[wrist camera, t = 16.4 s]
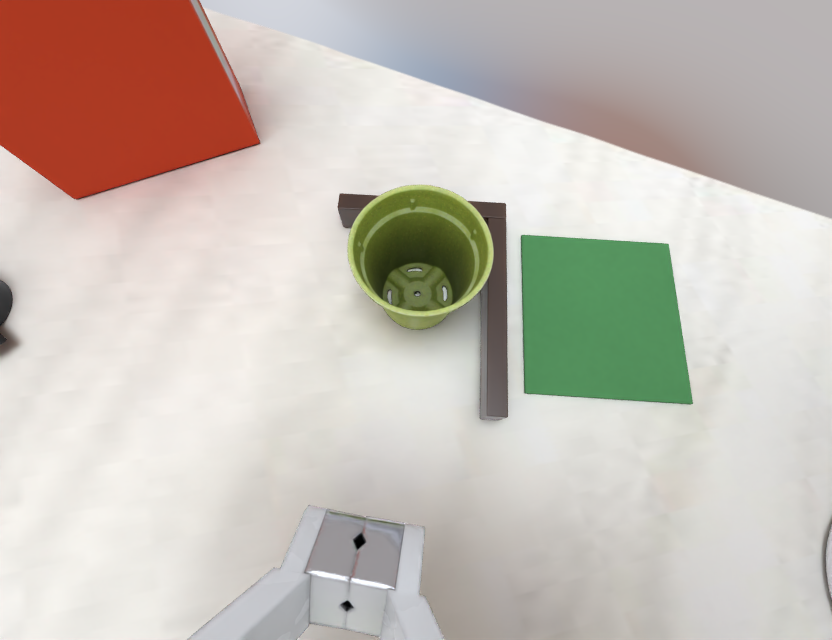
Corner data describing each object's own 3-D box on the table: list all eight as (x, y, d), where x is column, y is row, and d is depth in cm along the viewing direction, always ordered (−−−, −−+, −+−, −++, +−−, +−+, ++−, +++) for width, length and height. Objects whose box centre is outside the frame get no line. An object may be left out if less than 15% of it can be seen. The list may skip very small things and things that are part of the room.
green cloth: (666, 245, 35) (668, 243, 35) (690, 404, 31) (693, 403, 31) (521, 236, 35) (521, 234, 35) (524, 393, 31) (525, 392, 31)
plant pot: (463, 241, 35) (479, 177, 27) (482, 342, 32) (506, 306, 24) (359, 252, 35) (342, 191, 26) (368, 356, 32) (353, 324, 24)
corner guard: (498, 222, 36) (506, 202, 33) (499, 420, 30) (508, 417, 28) (345, 213, 36) (339, 192, 33) (318, 408, 31) (308, 404, 28)
